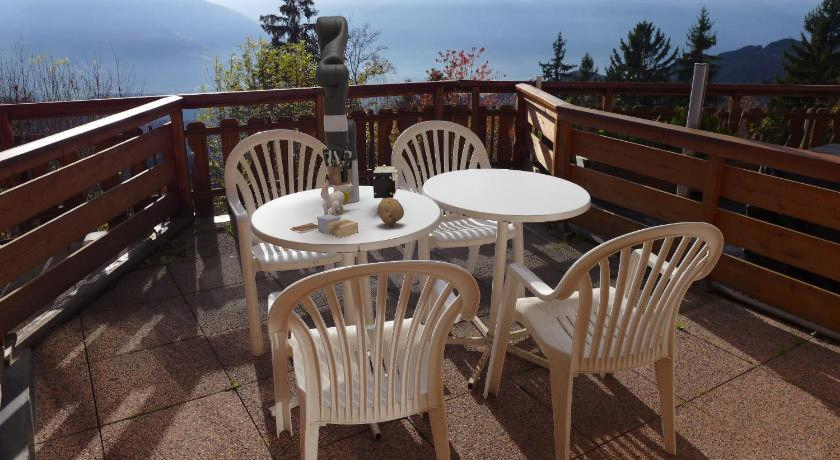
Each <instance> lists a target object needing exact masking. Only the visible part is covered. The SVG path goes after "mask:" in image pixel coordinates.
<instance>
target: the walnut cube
mask: <svg viewBox="0 0 840 460" xmlns="http://www.w3.org/2000/svg"><path fill="white" fill-rule="evenodd" d="M343 167H344V165H343ZM327 174H328V175H327V176H328V182H329V186H330V185H331V186H333V185H335V186H341V185H346V184H350V170H348V182H345V183H342V182H341V170H340V166H339V165H332V166H328V167H327Z"/></svg>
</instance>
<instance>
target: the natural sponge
mask: <svg viewBox="0 0 840 460" xmlns="http://www.w3.org/2000/svg"><path fill="white" fill-rule="evenodd" d="M381 200H382V199H381ZM397 200H398V199H396V198H394V197H393V198H387V199H384V200H382V201H380V202H379V203H378V205H377V211H378V215H379V219H381V221H382V223H383V224H385V225H386V226H387V227H392V226H394V225H395V224H396V223H397V222H399V221H400V220H402V218H404V216H405V210H404V207H403V206H402V203H401V202H400V201H399V200H398V201H397Z"/></svg>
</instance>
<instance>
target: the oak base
mask: <svg viewBox="0 0 840 460" xmlns="http://www.w3.org/2000/svg"><path fill="white" fill-rule="evenodd" d="M328 228H329V234H328V235H330V234H332V235H331V236H334V235H335V236H334V237H337V236H339V237H338V238H341V237H344V238H347V237H350V236H353V235H352V234H354V235H356V234H355V233H357V234H359V222H358V221H354V220H350V219H344V218H342V219H340V220H339V221H335V222H332V223H328ZM349 235H350V236H349ZM346 236H347V237H346Z"/></svg>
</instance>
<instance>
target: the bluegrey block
mask: <svg viewBox="0 0 840 460" xmlns="http://www.w3.org/2000/svg"><path fill="white" fill-rule="evenodd" d="M316 219H317V220H316V221H317V225H318V229H317V230H318V232H320V231H321V233H324V232H325V234H327V233H329V228H328V223H332V222H335V221H339V220H341V217H340V216H338V215H336V216H334V215H332V214H329V213H328V214H327V215H325V214H324V215H321V216H317V218H316Z"/></svg>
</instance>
